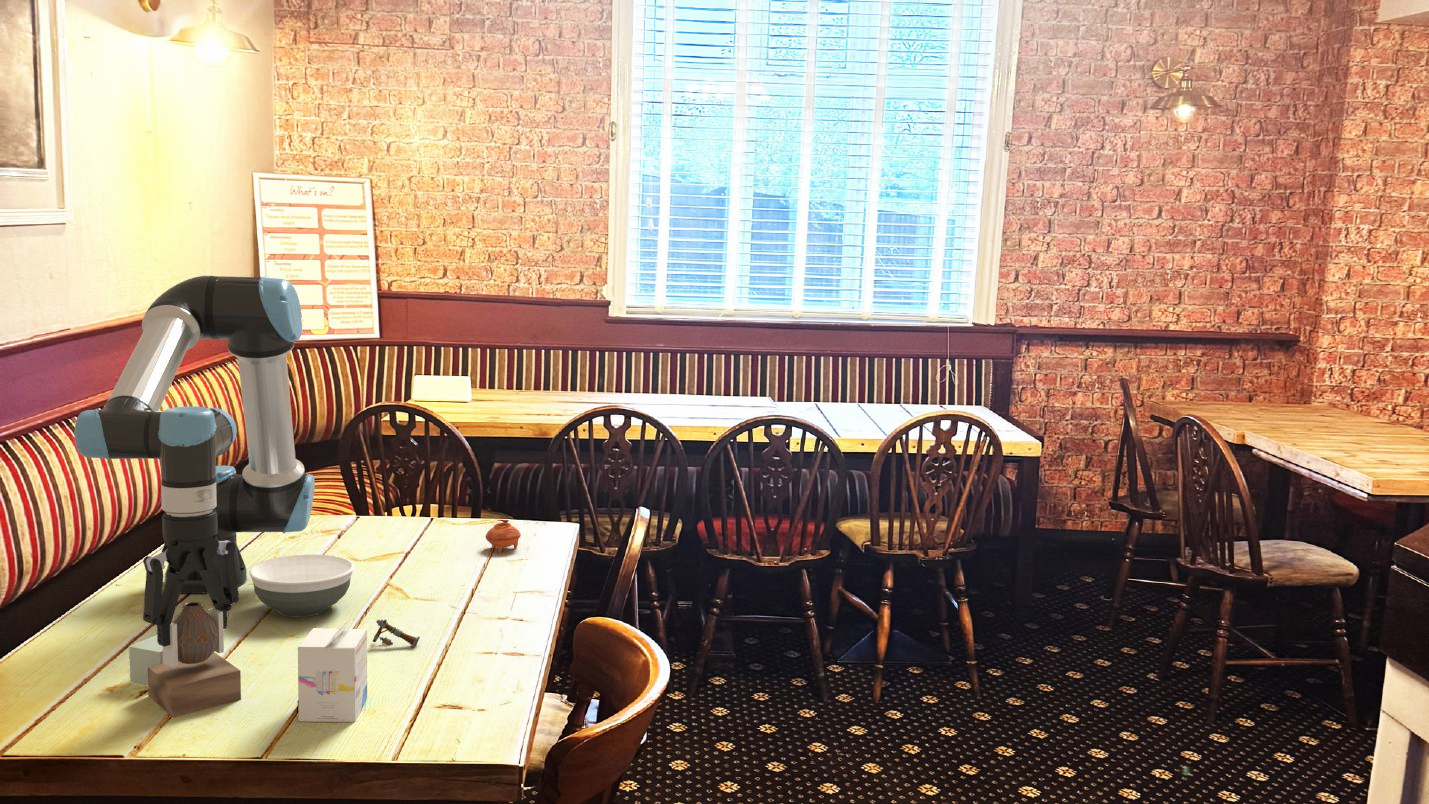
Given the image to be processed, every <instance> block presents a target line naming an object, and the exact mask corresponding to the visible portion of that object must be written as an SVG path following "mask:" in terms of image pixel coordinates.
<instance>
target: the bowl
mask: <svg viewBox="0 0 1429 804" xmlns="http://www.w3.org/2000/svg"><path fill="white" fill-rule="evenodd" d="M354 570H355V565H354V563H353V562H352V561H351V560H349V559H347V558H344V557H341V556H335V555H329V554H328V555H327V554H294V555H286V556H281V557H280V556H279V557H276V558H271V559H267V560H264V561H261V562H259V563H257V564H254V566H252V568H251V569H250V570H249V577H250V578H251V580H252V583H253V590H254V593H255V595H256V596H257V598H258V599H259V601H260V602H261V603H263V605H265V606H267V608H270V609H271V610H274V611H276V612H277V613H279V614H280V615H283V616H285V617H289V618H290V617H293V618H306V617H311V616H316V615H319V614H322V613H324V612H325V611H327V610H328V609H329V608H330V607H332V606H333V605H335V604H337V603H338V602H339V601H340V600H341V599H342V598H344V596H346V594H347V591H348V590H349V588H350V585H351V579H352V577H351V576H352V574H353V572H354Z"/></svg>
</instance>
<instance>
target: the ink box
mask: <svg viewBox="0 0 1429 804" xmlns="http://www.w3.org/2000/svg"><path fill="white" fill-rule="evenodd" d="M350 621H351V618H349V619H347V621H346V622H344V624H342V626H340V627H339V628H331V627H330V628H327V627H326V628H320V627H317V628H316V627H314V628H312V629H311V630H310V631H309V633H308V634H307V635H306V636H305V638H304V639H302V642H300V644H299V645H298V646H297V676H298V677H297V679H298V680H297V686H298V687H297V690H298V691H297V692H298V697H297V699H298V700H297V701H298V703H297V704H298V708H297V709H298V713H297V714H298V715H297V716H298V722H307V723H308V722H310V723H311V722H314V723H315V722H319V723H320V722H321V723H323V722H324V723H332V722H333V723H355V722H357V720H358V717H359V715H360V713H361V711H362V709H363V707H364V705H365V703H366V701H367V699H368V628H346V626H347V625H348V624H349V622H350Z"/></svg>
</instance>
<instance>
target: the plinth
mask: <svg viewBox="0 0 1429 804" xmlns="http://www.w3.org/2000/svg"><path fill="white" fill-rule="evenodd" d="M241 673H242V672H241V669H239V668H238V667H236V666H235V665H233V664H232V663H230V662H229V661H227V659H225V658H223V657H222V656H220V655H219V653H217V652H215V651H214V652H213V653H212V655H211V656H210V657H209V658H208V659H207V660H205V661H203V662H200V663H195V664H184V663H181V662H179V661H178V666H177V667H174V668H173V667H171V666H168V665H166V664H158V665H154V666H149V667H148V686H147V690H148V691H147V692H148V697H149V699H151V700H152V701H153V702H155V703H156V704H157V705H158V706H159V707H161V709H163V710H164V711H165V712H166V713H167V714H169V715H170V716H171V717H173V718H176V717H179V716H183V715H184V716H185V715H187V714H191V713H195V712H199V711H203V710H207V709H211V708H215V707H219V706H221V705H227V704H229V703H234V702H237V701H241V700H242V689H241V688H242V687H241V686H242V679H241V678H242V675H241Z"/></svg>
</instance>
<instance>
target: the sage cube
mask: <svg viewBox="0 0 1429 804" xmlns="http://www.w3.org/2000/svg"><path fill="white" fill-rule="evenodd" d="M128 649H129V651H128V655H129V657H128V658H129V683H131V684H137V685H142V686H147V687H148V667H149V666H154V665H158V664H163V647H162V646H161V645H159V644H158V642H157V634H156V635H154V636H151V637H149V638H146V639H144V640H141V641H139V642H136V643H133V644H132V645H129V646H128Z"/></svg>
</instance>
